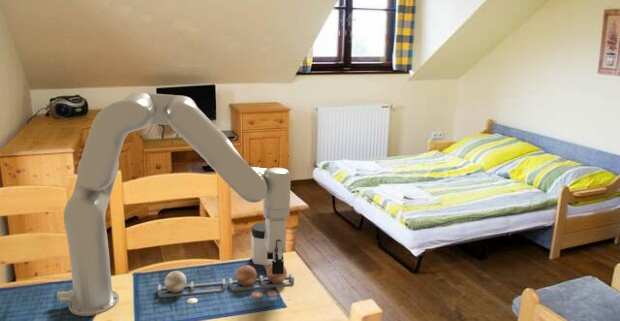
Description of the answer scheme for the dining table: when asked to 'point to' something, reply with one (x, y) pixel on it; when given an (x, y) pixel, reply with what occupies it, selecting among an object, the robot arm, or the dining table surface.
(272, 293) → the tiles
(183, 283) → the cream ball
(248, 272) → the terracotta ball
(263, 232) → the jar
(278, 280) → the terracotta ball
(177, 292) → the grey ball rail
